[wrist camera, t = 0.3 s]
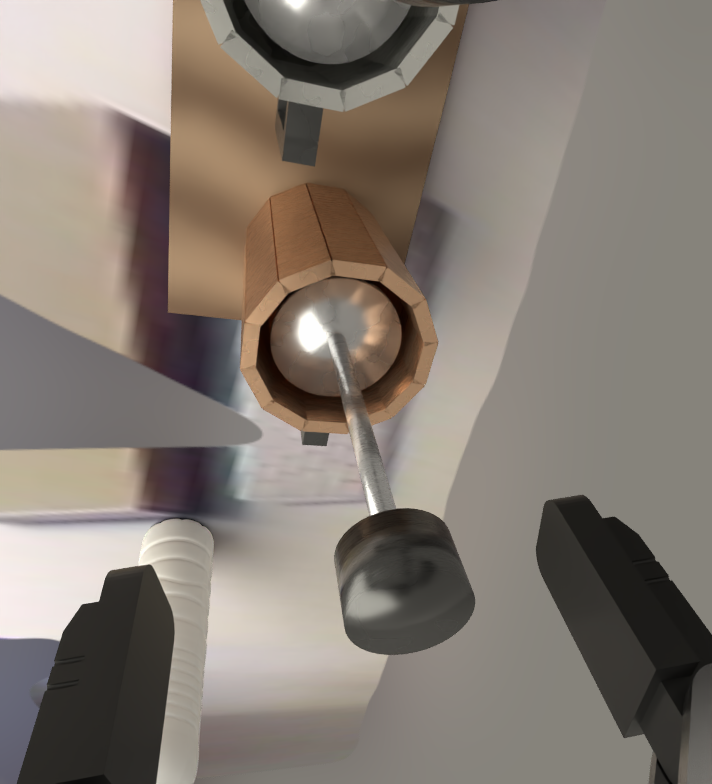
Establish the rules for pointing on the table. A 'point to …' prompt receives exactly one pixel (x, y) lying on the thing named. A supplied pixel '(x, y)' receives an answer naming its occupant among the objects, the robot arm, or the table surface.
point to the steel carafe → (324, 69)
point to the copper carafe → (309, 265)
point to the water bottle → (182, 637)
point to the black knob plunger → (372, 473)
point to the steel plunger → (335, 25)
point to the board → (279, 159)
